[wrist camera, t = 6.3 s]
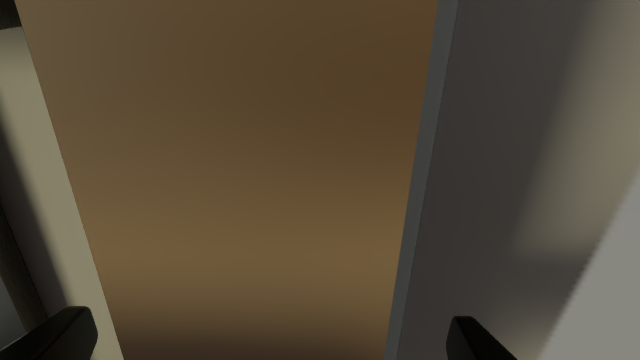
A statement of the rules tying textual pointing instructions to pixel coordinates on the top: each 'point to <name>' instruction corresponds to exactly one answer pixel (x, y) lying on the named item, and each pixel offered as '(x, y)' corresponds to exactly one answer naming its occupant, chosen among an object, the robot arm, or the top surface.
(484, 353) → the robot arm
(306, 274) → the rail
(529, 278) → the top surface
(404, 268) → the pad
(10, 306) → the rack
